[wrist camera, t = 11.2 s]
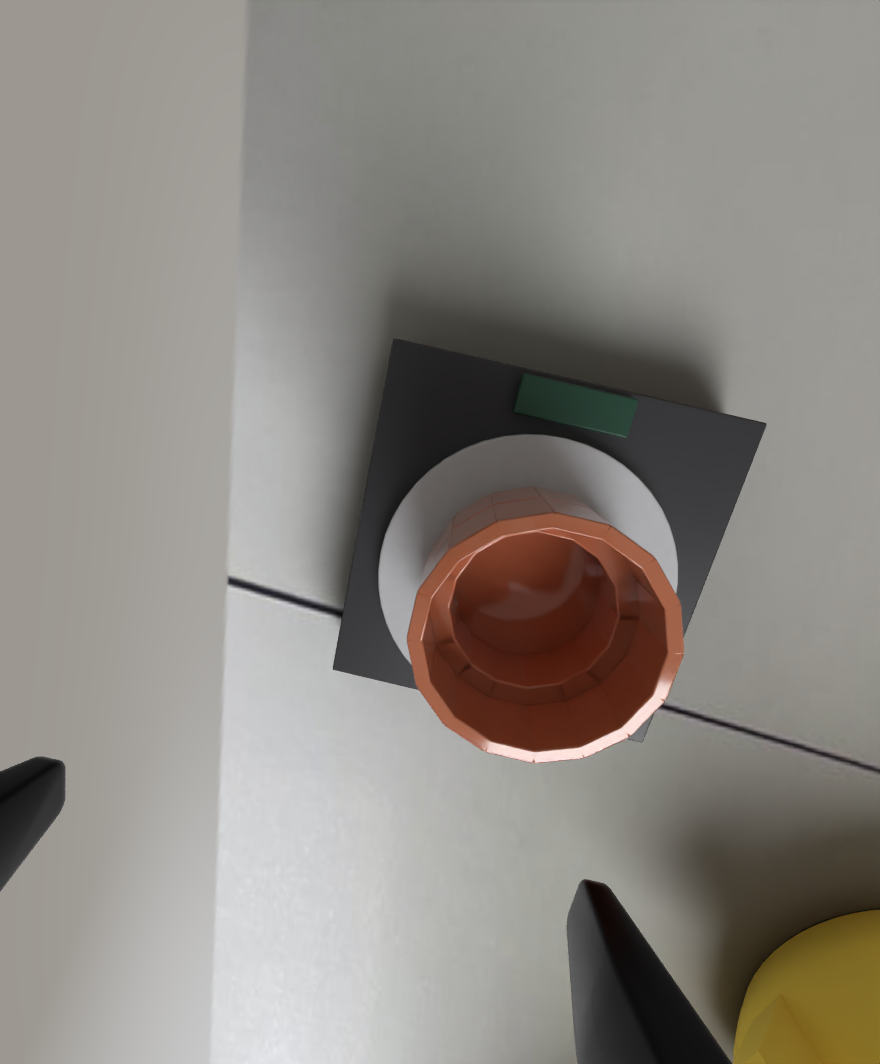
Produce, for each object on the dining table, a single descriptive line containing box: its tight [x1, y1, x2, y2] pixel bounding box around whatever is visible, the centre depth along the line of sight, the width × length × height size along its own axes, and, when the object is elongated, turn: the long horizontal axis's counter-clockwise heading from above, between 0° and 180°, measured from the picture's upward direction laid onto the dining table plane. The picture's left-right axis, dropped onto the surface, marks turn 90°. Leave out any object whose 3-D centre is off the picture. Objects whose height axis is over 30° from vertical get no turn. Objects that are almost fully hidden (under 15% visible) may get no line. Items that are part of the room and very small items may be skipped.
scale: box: [333, 339, 766, 742], centre depth 17 cm, size 12×12×3 cm
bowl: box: [407, 486, 684, 763], centre depth 14 cm, size 7×7×4 cm
